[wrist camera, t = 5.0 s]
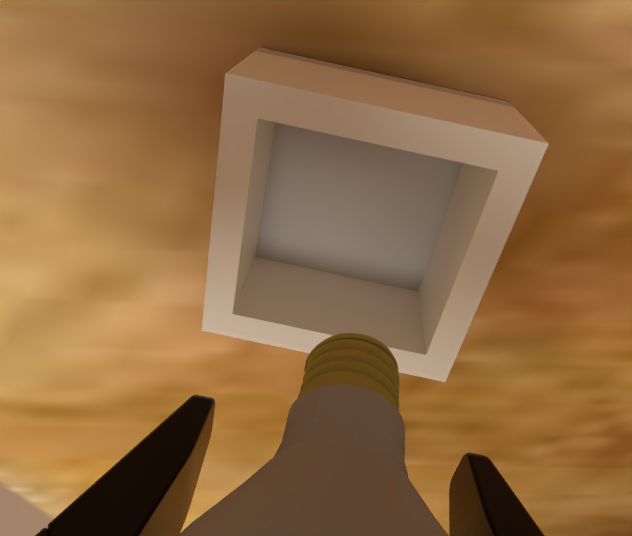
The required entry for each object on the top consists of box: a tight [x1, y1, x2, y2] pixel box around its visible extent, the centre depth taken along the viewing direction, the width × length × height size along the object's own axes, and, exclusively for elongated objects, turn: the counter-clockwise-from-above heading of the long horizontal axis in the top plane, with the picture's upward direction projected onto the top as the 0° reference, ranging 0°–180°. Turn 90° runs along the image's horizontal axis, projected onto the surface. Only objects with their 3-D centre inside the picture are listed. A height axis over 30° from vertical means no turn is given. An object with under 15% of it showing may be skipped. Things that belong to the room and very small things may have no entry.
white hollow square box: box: [202, 47, 549, 382], centre depth 18 cm, size 9×9×5 cm
